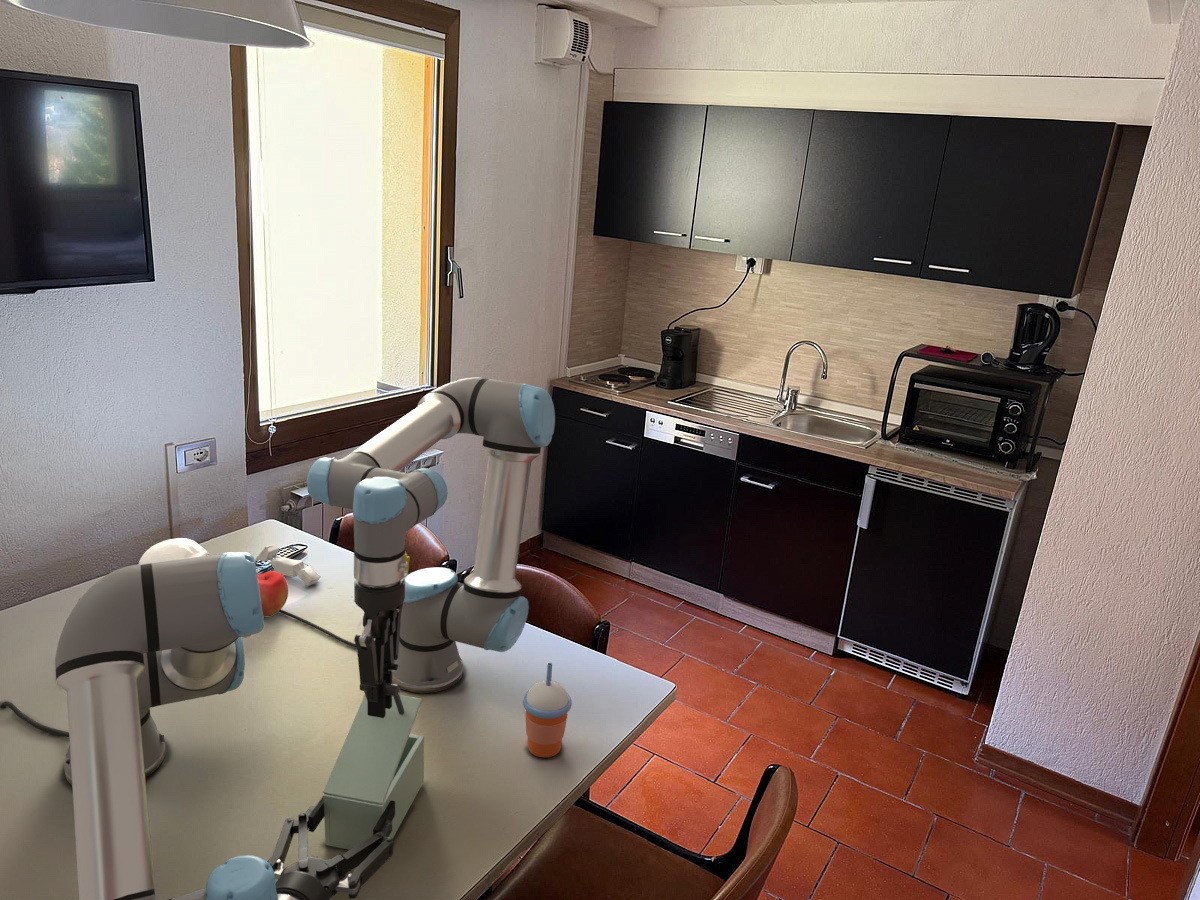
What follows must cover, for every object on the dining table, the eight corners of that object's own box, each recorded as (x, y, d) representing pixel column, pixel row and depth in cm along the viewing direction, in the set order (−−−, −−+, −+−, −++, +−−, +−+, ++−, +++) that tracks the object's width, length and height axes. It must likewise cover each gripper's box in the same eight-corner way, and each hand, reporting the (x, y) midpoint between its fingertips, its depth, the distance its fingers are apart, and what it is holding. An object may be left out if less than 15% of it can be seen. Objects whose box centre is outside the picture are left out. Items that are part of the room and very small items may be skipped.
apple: (273, 600, 207) (272, 562, 204) (297, 613, 202) (296, 575, 199) (237, 614, 200) (234, 575, 197) (261, 628, 194) (259, 588, 191)
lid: (367, 691, 144) (357, 663, 138) (422, 701, 143) (413, 672, 137) (323, 794, 132) (310, 768, 126) (382, 805, 130) (371, 779, 124)
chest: (371, 772, 151) (371, 726, 148) (423, 781, 149) (424, 736, 146) (325, 845, 134) (323, 795, 131) (383, 856, 133) (382, 807, 130)
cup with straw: (561, 767, 156) (568, 681, 151) (513, 757, 158) (518, 672, 153) (573, 737, 165) (579, 655, 160) (527, 729, 167) (532, 647, 161)
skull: (204, 625, 194) (201, 560, 189) (125, 605, 199) (121, 542, 195) (243, 602, 206) (242, 541, 202) (168, 584, 212) (165, 524, 207)
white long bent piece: (253, 565, 223) (254, 542, 221) (265, 560, 226) (266, 537, 224) (309, 593, 215) (310, 569, 213) (320, 588, 218) (321, 564, 216)
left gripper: (213, 919, 116) (296, 808, 137) (367, 953, 113) (428, 834, 134) (209, 875, 114) (295, 769, 135) (367, 908, 111) (429, 794, 132)
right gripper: (383, 604, 123) (383, 743, 130) (421, 561, 137) (419, 689, 144) (334, 596, 124) (336, 734, 131) (376, 555, 138) (377, 682, 145)
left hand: (361, 801), depth 135 cm, fingers closed on chest, 10 cm apart
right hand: (379, 710), depth 137 cm, fingers closed on lid, 2 cm apart
